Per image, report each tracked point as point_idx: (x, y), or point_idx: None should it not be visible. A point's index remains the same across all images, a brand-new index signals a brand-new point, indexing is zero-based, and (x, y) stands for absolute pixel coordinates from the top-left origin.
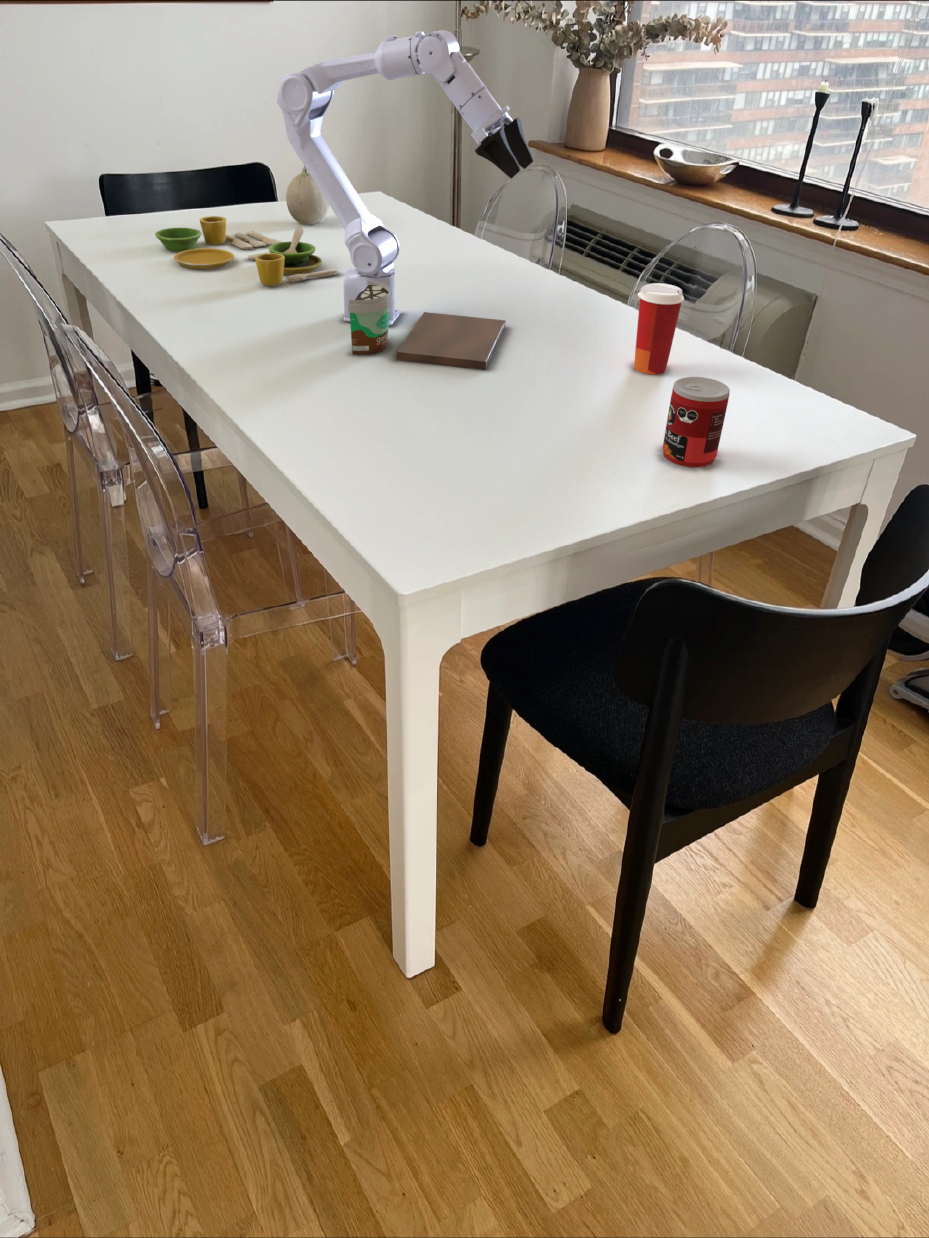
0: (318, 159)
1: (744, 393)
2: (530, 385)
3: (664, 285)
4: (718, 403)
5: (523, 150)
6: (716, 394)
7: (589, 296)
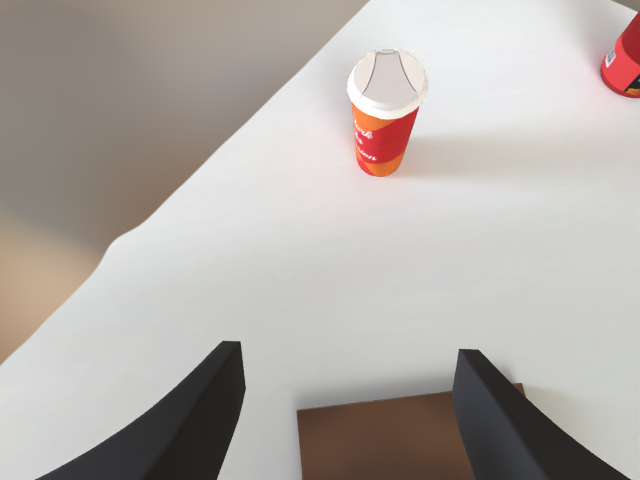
0: None
1: None
2: (534, 294)
3: (363, 76)
4: None
5: (213, 405)
6: None
7: (78, 305)
